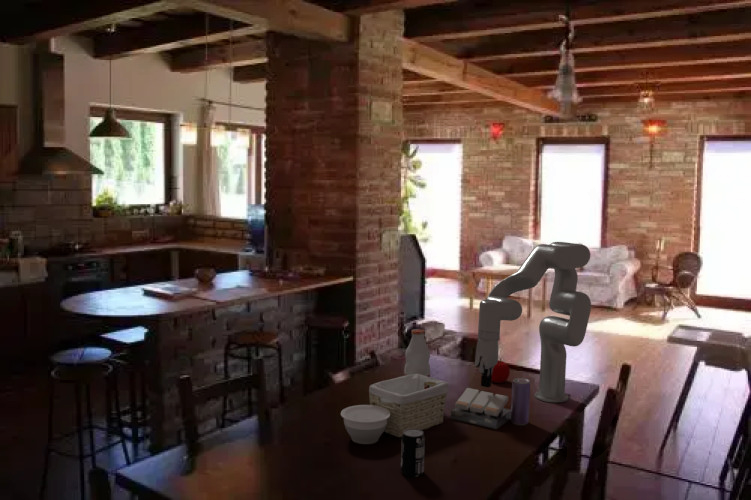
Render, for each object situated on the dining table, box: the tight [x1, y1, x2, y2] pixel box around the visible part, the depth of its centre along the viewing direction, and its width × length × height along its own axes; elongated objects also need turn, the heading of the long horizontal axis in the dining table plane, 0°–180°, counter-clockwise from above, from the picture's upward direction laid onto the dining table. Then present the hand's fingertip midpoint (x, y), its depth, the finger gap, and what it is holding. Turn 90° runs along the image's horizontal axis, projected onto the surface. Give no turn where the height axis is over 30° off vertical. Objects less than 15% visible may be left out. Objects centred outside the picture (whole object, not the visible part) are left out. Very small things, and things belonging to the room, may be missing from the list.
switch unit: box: [450, 407, 511, 430], centre depth 239 cm, size 13×17×5 cm
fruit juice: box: [403, 328, 431, 389], centre depth 251 cm, size 9×9×28 cm
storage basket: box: [368, 374, 449, 438], centre depth 231 cm, size 24×16×15 cm
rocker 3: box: [484, 393, 509, 416], centre depth 236 cm, size 10×4×2 cm, turn 146°
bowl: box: [340, 404, 390, 445], centre depth 219 cm, size 16×16×9 cm
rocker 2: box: [470, 390, 495, 413], centre depth 239 cm, size 10×4×2 cm, turn 146°
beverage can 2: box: [510, 377, 531, 426], centre depth 235 cm, size 6×6×15 cm
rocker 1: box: [454, 387, 480, 410], centre depth 242 cm, size 10×4×2 cm, turn 146°
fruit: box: [491, 357, 511, 384], centre depth 282 cm, size 9×9×10 cm
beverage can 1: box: [400, 428, 426, 478], centre depth 194 cm, size 7×7×12 cm
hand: (486, 386), depth 241 cm, fingers closed
